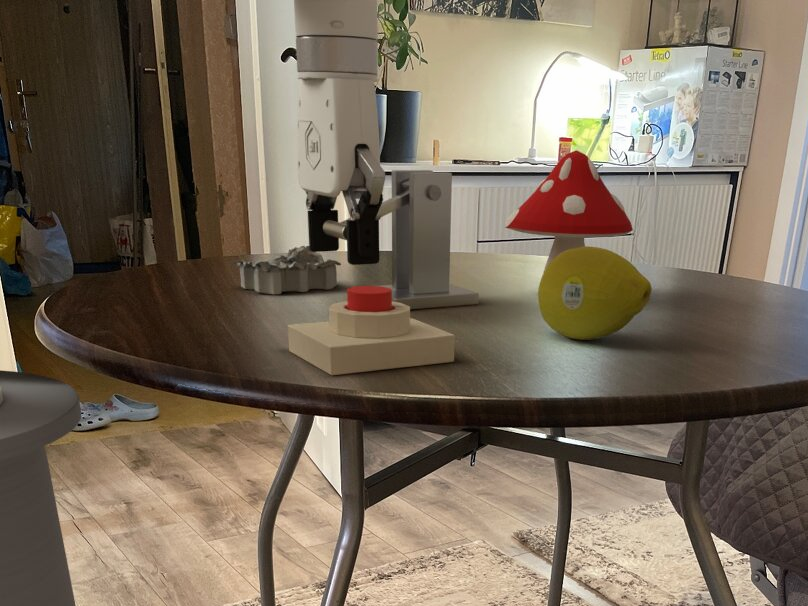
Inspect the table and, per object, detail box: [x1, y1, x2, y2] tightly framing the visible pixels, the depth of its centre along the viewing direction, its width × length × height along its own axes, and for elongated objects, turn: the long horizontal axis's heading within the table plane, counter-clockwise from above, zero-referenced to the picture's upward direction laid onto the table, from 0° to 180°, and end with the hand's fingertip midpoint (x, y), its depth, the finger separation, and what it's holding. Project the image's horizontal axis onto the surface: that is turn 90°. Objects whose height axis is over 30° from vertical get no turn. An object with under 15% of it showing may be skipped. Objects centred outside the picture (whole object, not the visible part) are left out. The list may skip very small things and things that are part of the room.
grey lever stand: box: [379, 169, 480, 311], centre depth 96 cm, size 10×8×13 cm
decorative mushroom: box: [504, 149, 634, 274], centre depth 101 cm, size 14×14×15 cm
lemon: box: [537, 245, 652, 341], centre depth 82 cm, size 11×8×8 cm
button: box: [346, 285, 392, 312], centre depth 74 cm, size 4×4×2 cm
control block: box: [287, 300, 456, 376], centre depth 75 cm, size 11×9×4 cm
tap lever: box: [323, 180, 410, 241], centre depth 93 cm, size 12×5×2 cm, turn 120°
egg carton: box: [233, 245, 342, 295], centre depth 104 cm, size 11×8×4 cm
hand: (343, 257), depth 93 cm, fingers open, 9 cm apart
